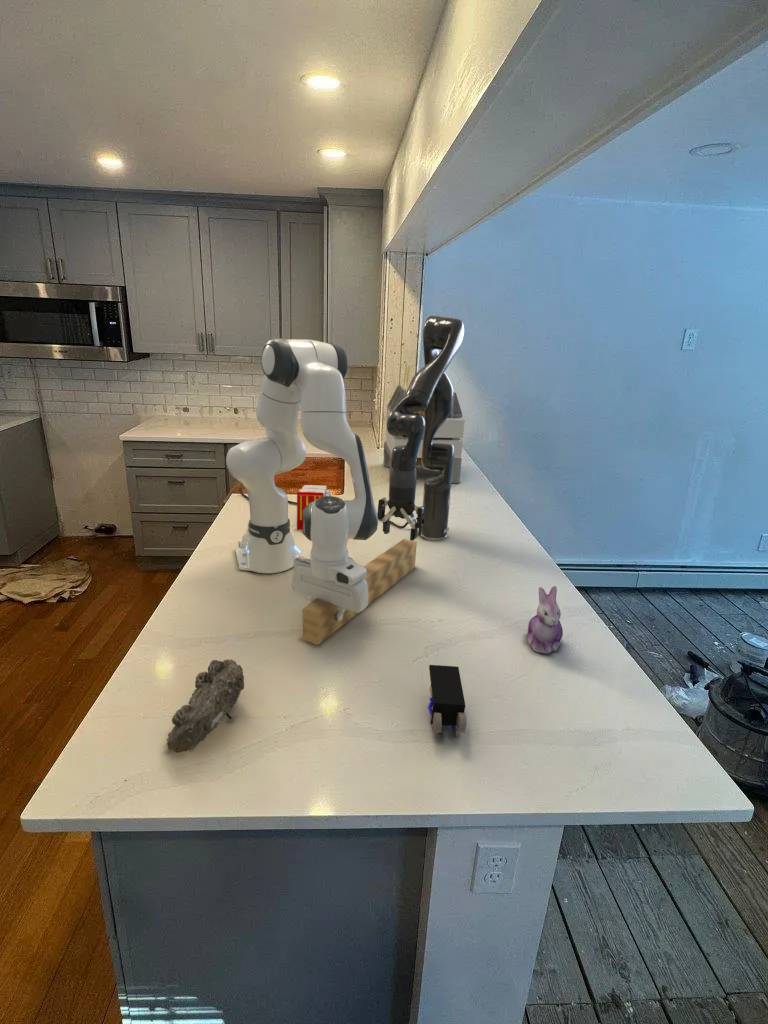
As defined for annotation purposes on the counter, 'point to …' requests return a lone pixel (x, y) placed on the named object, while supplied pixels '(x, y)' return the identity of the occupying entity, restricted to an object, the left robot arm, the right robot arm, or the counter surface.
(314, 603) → the post
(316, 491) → the toy
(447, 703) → the black wheeled block
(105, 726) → the counter surface
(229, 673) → the fossil
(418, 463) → the grey slatted crate
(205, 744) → the counter surface
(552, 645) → the figurine
